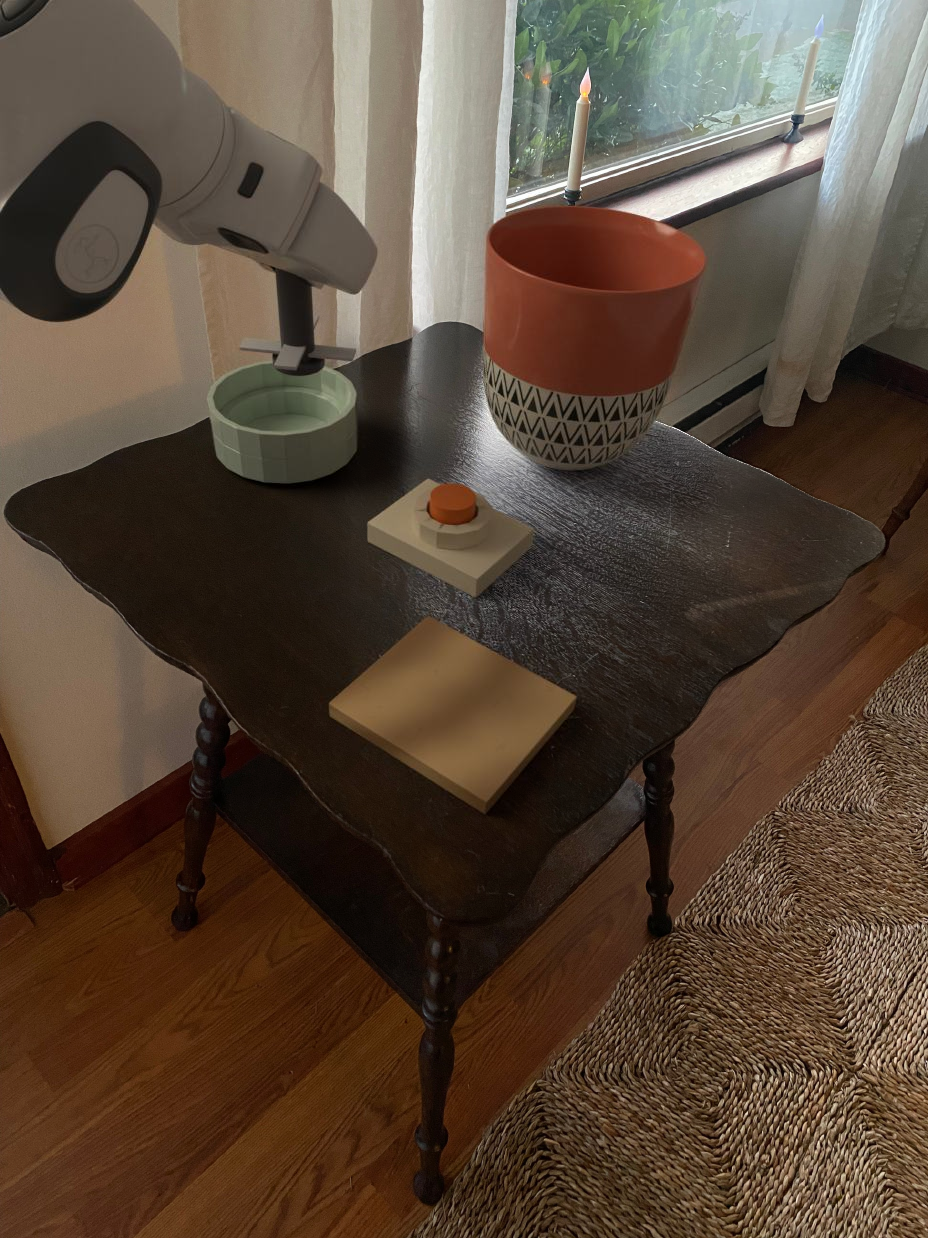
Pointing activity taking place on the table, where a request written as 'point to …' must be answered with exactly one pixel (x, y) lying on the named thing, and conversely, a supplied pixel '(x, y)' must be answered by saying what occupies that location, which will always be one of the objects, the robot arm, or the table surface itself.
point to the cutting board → (454, 711)
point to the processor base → (451, 540)
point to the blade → (296, 332)
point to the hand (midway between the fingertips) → (298, 271)
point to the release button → (452, 504)
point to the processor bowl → (283, 423)
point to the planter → (583, 328)
